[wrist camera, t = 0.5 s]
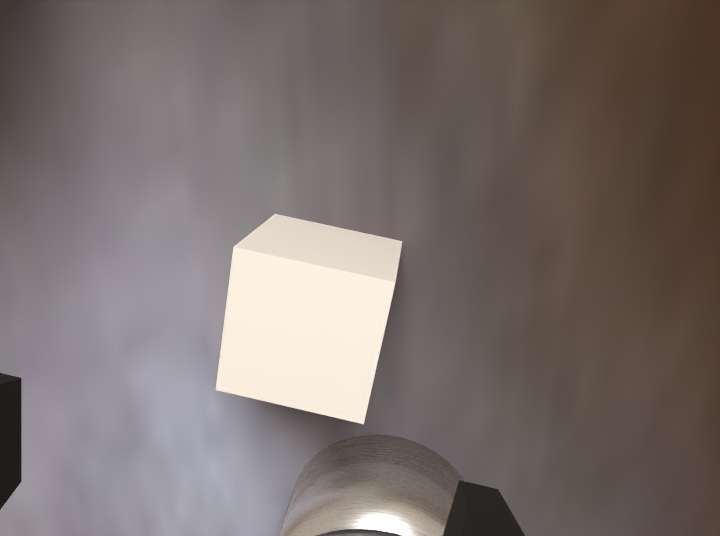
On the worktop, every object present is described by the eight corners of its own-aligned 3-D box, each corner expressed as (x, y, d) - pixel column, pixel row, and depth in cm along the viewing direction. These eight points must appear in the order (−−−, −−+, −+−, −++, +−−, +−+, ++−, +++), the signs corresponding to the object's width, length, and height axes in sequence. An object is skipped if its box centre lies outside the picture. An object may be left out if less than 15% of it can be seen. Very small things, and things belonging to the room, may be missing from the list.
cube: (402, 240, 17) (395, 282, 14) (376, 356, 19) (363, 424, 15) (275, 213, 18) (233, 246, 14) (258, 329, 19) (215, 389, 15)
